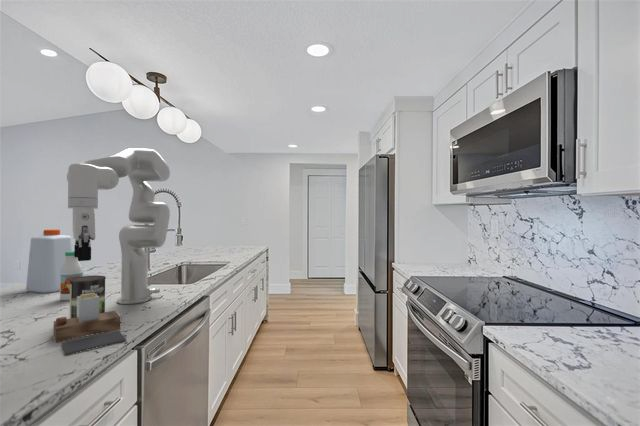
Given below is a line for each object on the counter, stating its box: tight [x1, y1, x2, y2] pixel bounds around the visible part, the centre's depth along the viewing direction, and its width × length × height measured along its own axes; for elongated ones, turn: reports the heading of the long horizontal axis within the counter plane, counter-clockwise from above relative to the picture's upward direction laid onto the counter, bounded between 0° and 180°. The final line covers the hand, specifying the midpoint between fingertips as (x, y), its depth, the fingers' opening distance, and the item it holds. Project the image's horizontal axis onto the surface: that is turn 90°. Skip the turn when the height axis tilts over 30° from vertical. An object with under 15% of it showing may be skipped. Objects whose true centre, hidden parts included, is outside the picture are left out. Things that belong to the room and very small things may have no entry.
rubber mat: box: [61, 330, 127, 357], centre depth 93 cm, size 14×9×1 cm, turn 133°
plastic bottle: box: [25, 228, 74, 294], centre depth 152 cm, size 15×15×28 cm
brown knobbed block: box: [53, 310, 121, 343], centre depth 101 cm, size 16×8×6 cm, turn 133°
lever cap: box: [77, 293, 99, 323], centre depth 101 cm, size 5×5×8 cm
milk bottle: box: [59, 250, 84, 301], centre depth 137 cm, size 8×8×20 cm
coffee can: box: [69, 275, 106, 319], centre depth 113 cm, size 10×10×14 cm
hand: (82, 258), depth 101 cm, fingers open, 9 cm apart
